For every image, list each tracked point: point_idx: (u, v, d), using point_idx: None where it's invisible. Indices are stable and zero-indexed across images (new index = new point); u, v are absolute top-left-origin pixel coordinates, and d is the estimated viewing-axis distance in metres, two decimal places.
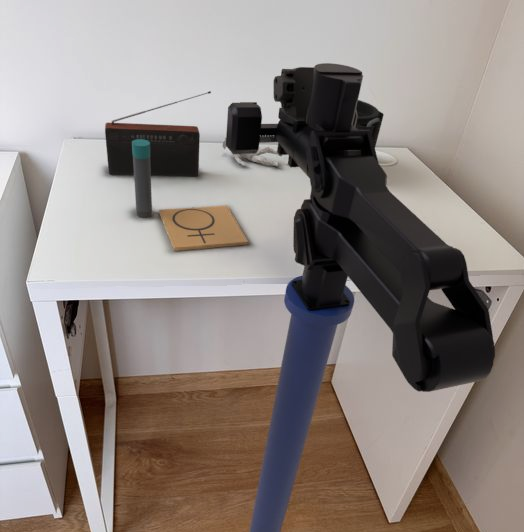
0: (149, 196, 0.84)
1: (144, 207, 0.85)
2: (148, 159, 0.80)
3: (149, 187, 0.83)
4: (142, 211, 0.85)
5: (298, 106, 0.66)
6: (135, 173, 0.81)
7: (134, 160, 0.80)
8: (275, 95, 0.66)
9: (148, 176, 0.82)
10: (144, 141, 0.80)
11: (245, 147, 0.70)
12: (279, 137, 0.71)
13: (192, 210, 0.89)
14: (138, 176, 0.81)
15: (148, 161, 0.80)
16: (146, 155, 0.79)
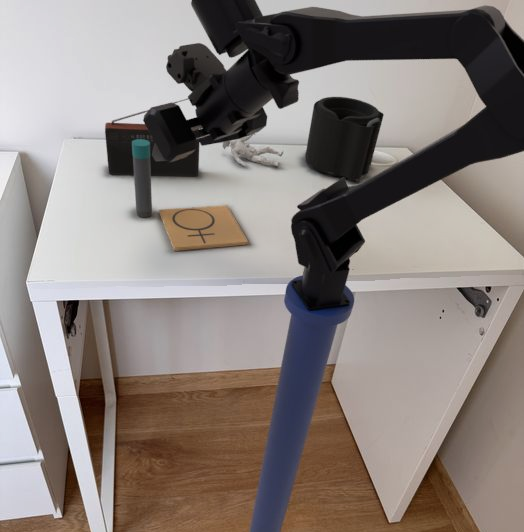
0: (149, 196, 0.84)
1: (144, 207, 0.85)
2: (148, 159, 0.80)
3: (149, 187, 0.83)
4: (142, 211, 0.85)
5: (203, 71, 0.63)
6: (135, 173, 0.81)
7: (134, 160, 0.80)
8: (177, 77, 0.63)
9: (148, 176, 0.82)
10: (144, 141, 0.80)
11: (183, 140, 0.63)
12: (206, 118, 0.65)
13: (192, 210, 0.89)
14: (138, 176, 0.81)
15: (148, 161, 0.80)
16: (146, 155, 0.79)
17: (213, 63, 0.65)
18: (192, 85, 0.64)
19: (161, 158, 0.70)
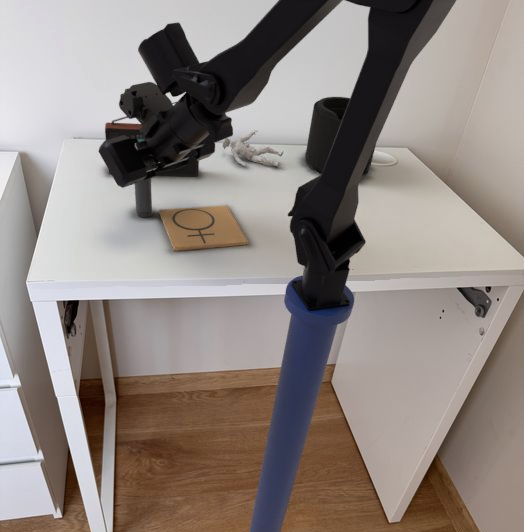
0: (149, 196, 0.84)
1: (144, 207, 0.85)
2: None
3: (149, 187, 0.83)
4: (142, 211, 0.85)
5: (151, 108, 0.72)
6: None
7: None
8: (128, 113, 0.71)
9: None
10: None
11: (134, 168, 0.71)
12: (155, 148, 0.73)
13: (192, 210, 0.89)
14: None
15: None
16: None
17: (161, 100, 0.73)
18: (142, 120, 0.72)
19: None
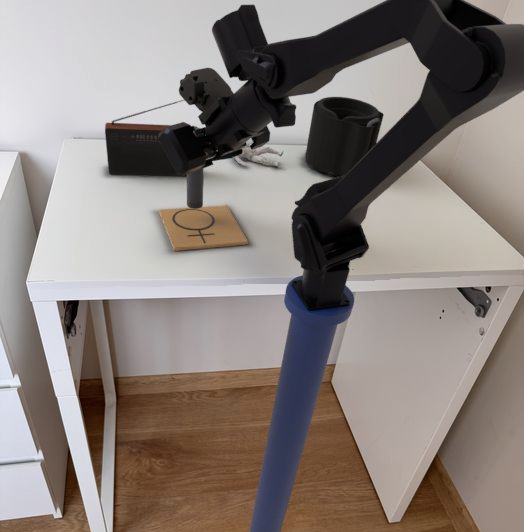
0: (201, 186, 0.82)
1: (196, 198, 0.83)
2: None
3: (202, 177, 0.81)
4: (193, 202, 0.83)
5: (212, 94, 0.70)
6: None
7: None
8: (189, 99, 0.70)
9: None
10: None
11: (194, 156, 0.69)
12: (215, 136, 0.72)
13: (192, 210, 0.89)
14: None
15: None
16: None
17: (221, 86, 0.72)
18: (202, 106, 0.71)
19: None
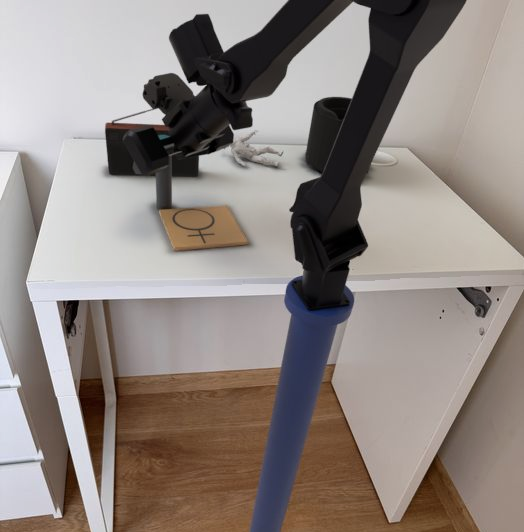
0: (169, 191, 0.87)
1: (165, 201, 0.87)
2: None
3: (170, 181, 0.86)
4: (162, 205, 0.88)
5: (174, 98, 0.74)
6: None
7: None
8: (152, 103, 0.73)
9: (169, 171, 0.84)
10: (166, 136, 0.82)
11: (157, 157, 0.73)
12: (177, 138, 0.75)
13: (192, 210, 0.89)
14: None
15: (170, 156, 0.83)
16: None
17: (183, 90, 0.75)
18: (165, 109, 0.74)
19: None
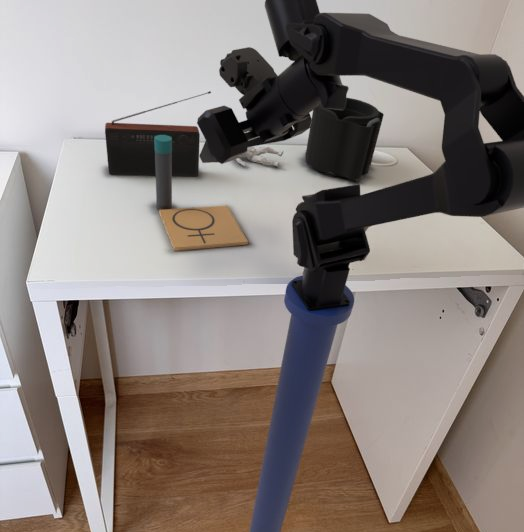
0: (169, 191, 0.87)
1: (165, 201, 0.87)
2: (170, 154, 0.82)
3: (170, 181, 0.86)
4: (162, 205, 0.88)
5: (255, 75, 0.65)
6: (157, 168, 0.84)
7: (156, 155, 0.82)
8: (230, 81, 0.64)
9: (169, 171, 0.84)
10: (166, 136, 0.82)
11: (236, 142, 0.64)
12: (257, 121, 0.66)
13: (192, 210, 0.89)
14: (160, 170, 0.84)
15: (170, 156, 0.83)
16: (168, 150, 0.82)
17: (264, 67, 0.66)
18: (244, 88, 0.65)
19: (209, 160, 0.71)
